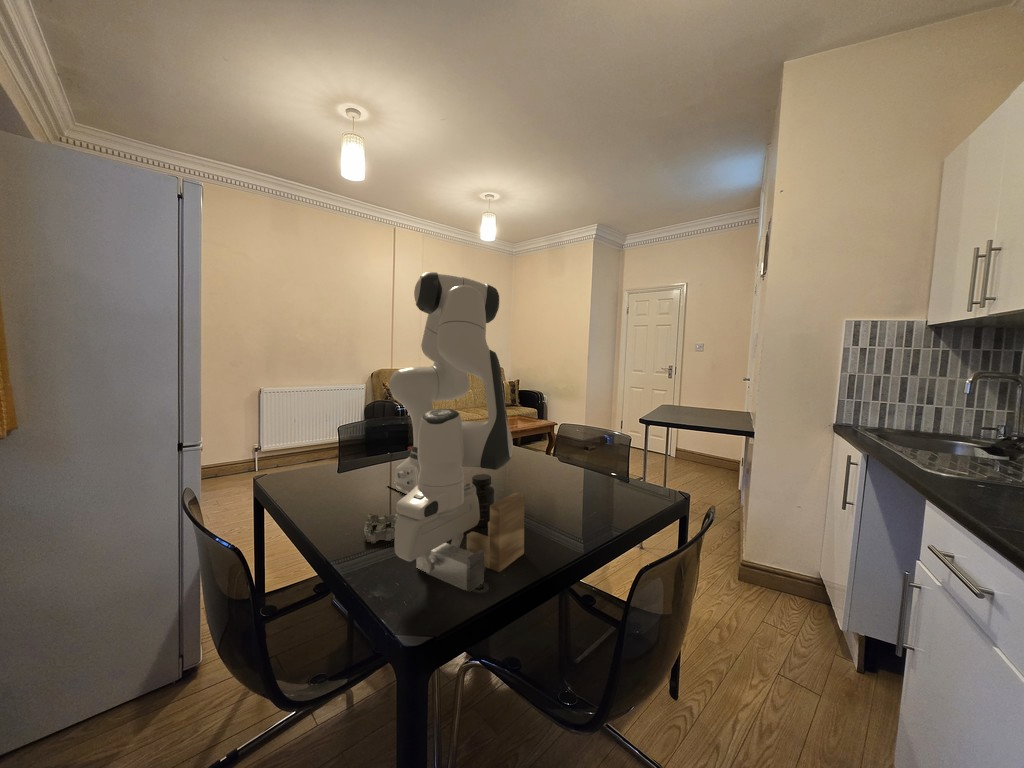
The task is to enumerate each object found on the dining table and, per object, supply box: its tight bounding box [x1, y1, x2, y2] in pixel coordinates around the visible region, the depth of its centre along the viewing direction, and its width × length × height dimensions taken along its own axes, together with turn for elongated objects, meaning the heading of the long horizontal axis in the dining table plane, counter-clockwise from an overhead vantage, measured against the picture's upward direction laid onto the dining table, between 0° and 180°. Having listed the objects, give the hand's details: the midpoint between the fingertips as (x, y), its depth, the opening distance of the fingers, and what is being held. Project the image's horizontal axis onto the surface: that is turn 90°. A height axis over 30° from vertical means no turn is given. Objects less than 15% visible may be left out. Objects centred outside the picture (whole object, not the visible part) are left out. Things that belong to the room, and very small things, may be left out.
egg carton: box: [363, 511, 400, 541], centre depth 95 cm, size 11×8×4 cm
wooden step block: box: [466, 492, 525, 573], centre depth 84 cm, size 8×9×13 cm
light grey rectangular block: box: [415, 542, 485, 593], centre depth 77 cm, size 14×4×6 cm, turn 56°
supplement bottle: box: [471, 473, 496, 528], centre depth 102 cm, size 7×7×12 cm
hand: (441, 562), depth 78 cm, fingers open, 5 cm apart
